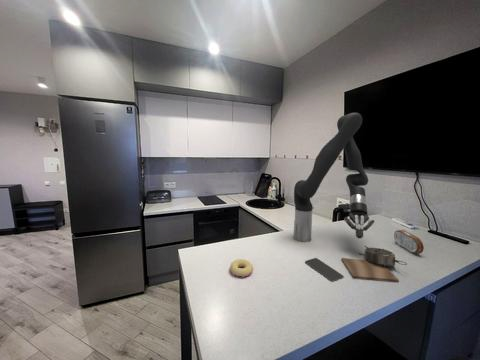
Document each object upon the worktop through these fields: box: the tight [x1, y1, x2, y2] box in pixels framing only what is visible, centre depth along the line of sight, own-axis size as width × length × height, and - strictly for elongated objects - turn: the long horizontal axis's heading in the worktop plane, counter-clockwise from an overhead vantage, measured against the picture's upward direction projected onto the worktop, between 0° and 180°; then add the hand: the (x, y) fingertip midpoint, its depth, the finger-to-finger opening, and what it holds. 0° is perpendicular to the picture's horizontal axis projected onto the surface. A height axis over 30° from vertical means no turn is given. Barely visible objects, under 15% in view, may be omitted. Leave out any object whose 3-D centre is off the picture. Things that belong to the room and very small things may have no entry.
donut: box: [229, 258, 254, 277], centre depth 81 cm, size 10×5×9 cm
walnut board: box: [340, 257, 400, 283], centre depth 81 cm, size 16×13×1 cm
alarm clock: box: [358, 245, 408, 267], centre depth 84 cm, size 11×5×16 cm
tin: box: [393, 229, 425, 254], centre depth 98 cm, size 15×3×8 cm, turn 179°
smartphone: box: [304, 257, 345, 283], centre depth 82 cm, size 7×1×15 cm
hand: (359, 237), depth 90 cm, fingers closed
